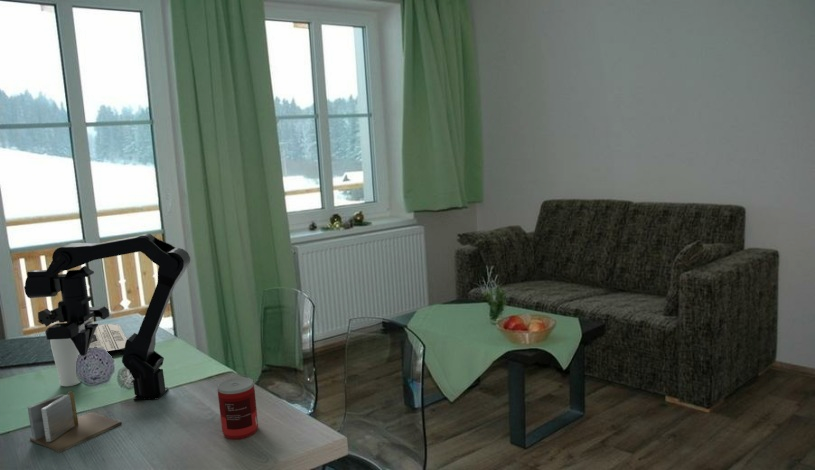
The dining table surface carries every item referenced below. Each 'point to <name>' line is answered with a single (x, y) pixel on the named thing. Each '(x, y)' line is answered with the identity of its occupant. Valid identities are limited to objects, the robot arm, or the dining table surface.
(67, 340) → the white tapered cylinder
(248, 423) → the canned food
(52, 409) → the swinging leaf
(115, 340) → the newspaper
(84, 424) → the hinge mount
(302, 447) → the dining table surface
